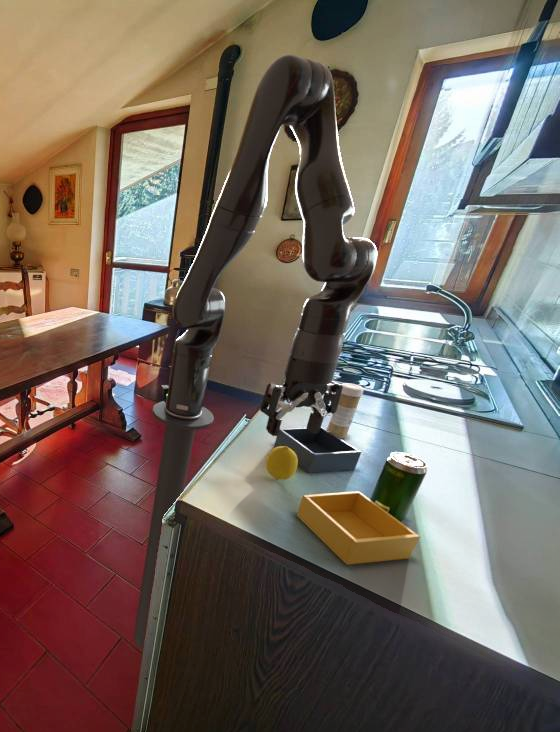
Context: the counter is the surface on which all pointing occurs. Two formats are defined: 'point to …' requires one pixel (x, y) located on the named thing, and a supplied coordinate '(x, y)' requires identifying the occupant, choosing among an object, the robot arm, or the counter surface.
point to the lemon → (281, 463)
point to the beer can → (399, 483)
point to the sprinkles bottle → (345, 410)
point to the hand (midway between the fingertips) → (291, 432)
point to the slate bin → (318, 450)
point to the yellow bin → (356, 527)
